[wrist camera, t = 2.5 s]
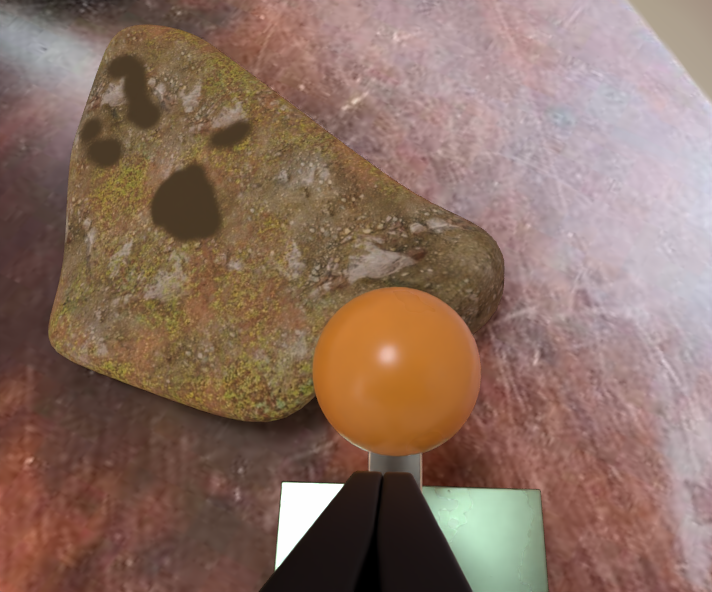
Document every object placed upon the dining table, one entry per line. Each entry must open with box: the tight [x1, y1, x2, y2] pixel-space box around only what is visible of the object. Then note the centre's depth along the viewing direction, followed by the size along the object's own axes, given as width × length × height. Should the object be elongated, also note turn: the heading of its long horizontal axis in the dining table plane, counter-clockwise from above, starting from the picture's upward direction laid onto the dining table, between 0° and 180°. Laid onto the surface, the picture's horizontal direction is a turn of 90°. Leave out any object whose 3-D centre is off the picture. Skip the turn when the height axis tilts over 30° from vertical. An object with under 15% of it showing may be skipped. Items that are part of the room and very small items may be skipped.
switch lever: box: [312, 287, 481, 492], centre depth 12 cm, size 11×4×4 cm, turn 178°
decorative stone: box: [48, 25, 504, 422], centre depth 26 cm, size 25×15×5 cm, turn 42°
